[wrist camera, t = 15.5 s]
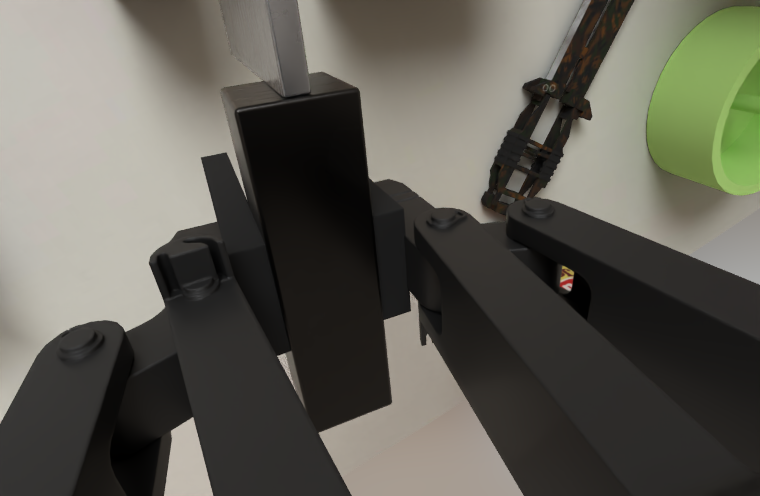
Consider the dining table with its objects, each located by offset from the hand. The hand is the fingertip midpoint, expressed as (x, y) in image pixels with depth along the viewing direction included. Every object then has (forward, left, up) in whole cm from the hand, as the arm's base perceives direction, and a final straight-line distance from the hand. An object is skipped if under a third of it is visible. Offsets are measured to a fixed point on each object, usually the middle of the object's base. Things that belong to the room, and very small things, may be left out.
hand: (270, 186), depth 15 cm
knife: (+25, -1, -15) cm, 29 cm away
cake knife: (0, +8, 0) cm, 8 cm away
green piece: (+47, -5, -15) cm, 49 cm away
